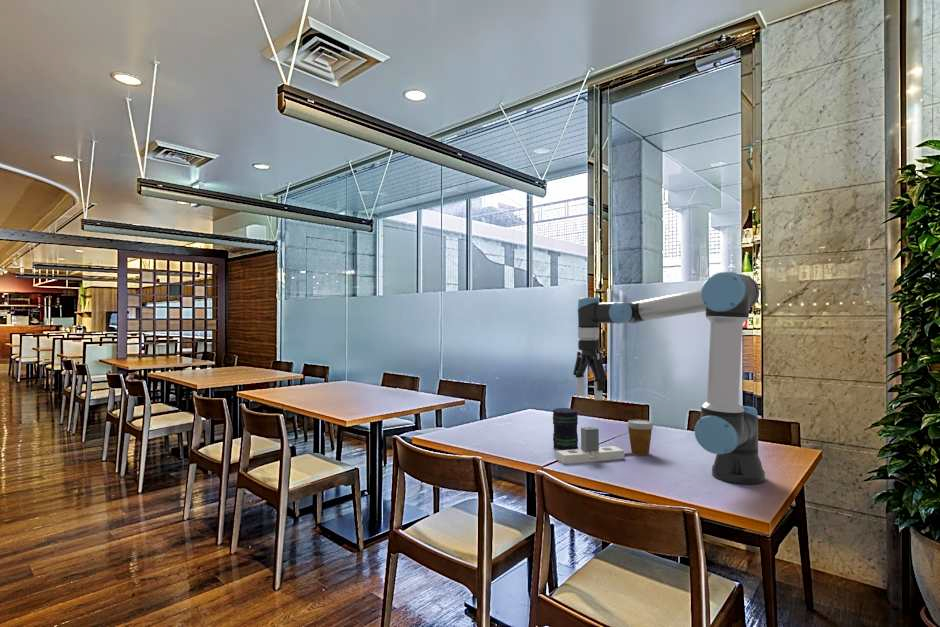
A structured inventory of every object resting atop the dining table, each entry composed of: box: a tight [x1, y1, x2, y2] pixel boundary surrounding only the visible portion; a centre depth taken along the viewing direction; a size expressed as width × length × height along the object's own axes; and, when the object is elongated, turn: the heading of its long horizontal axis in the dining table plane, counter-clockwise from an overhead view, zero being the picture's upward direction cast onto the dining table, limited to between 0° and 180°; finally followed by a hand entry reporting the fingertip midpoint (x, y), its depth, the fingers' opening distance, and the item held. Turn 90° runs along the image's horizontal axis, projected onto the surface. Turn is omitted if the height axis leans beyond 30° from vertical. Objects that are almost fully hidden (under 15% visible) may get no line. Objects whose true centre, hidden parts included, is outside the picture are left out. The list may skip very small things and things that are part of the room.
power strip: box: [555, 445, 635, 465], centre depth 189 cm, size 7×30×3 cm, turn 106°
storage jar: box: [552, 407, 579, 451], centre depth 206 cm, size 10×10×15 cm
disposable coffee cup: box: [626, 419, 654, 456], centre depth 196 cm, size 10×10×12 cm
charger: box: [580, 426, 600, 456], centre depth 189 cm, size 4×5×10 cm
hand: (589, 397), depth 189 cm, fingers open, 13 cm apart
